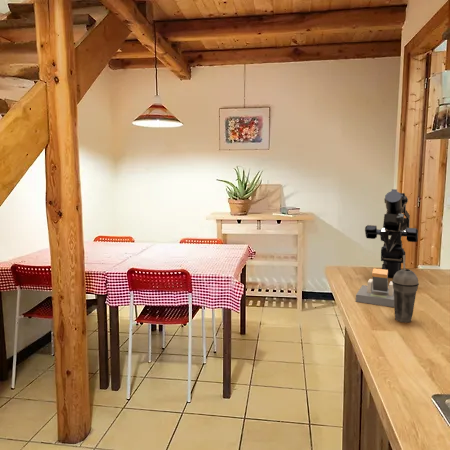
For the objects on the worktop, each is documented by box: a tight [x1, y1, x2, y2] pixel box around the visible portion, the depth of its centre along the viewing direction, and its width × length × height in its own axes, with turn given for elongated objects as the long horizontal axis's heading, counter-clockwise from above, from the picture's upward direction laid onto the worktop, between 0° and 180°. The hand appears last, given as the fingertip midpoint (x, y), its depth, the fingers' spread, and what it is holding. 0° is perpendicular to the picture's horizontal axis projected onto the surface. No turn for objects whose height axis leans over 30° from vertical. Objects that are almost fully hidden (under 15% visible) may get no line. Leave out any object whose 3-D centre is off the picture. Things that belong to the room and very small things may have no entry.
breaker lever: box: [371, 268, 389, 292], centre depth 138 cm, size 2×5×9 cm, turn 62°
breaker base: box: [355, 278, 394, 308], centre depth 140 cm, size 12×14×6 cm
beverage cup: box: [392, 254, 420, 324], centre depth 121 cm, size 7×7×20 cm
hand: (388, 251), depth 153 cm, fingers closed
